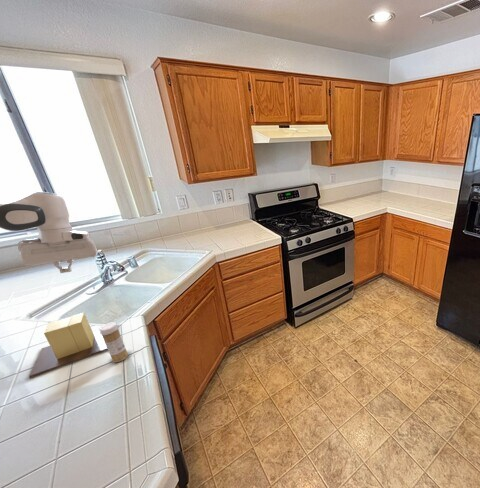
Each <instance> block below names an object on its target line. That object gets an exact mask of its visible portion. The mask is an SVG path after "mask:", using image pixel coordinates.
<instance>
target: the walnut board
mask: <svg viewBox="0 0 480 488" xmlns="http://www.w3.org/2000/svg"><path fill="white" fill-rule="evenodd" d="M92 332H93V334H94V340H93V345H92V347H91V348H88V349H85V350H82V351H80V352H77V353H74V354H71V355H68V356H65V357H62V358H59V359H57V358H56V356H55V354H54V352H53V350H52V348H51V346H50V345H48V346H44V347H42V348H41V349H40V352H39V353H38V356H37V358H36V360H35V362H34V364H33V366H32V369H31V371H30V373H29V375H28V377H29V379H32V378H34V377H36V376H40V375H42V374H46V373H48V372H50V371H53V370H57V369H60V368H61V367H64V366H68V365H70V364H73V363H77V362H78V361H82V360H85V359H88V358H90V357H92V356H96V355H99V354H101V353H104V352H107V351H108V349H107V346H106V344H105V342H104V339H103V336H102V335H101V334H100V331H99V329H97V330H94V331H92Z"/></svg>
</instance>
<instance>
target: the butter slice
mask: <svg viewBox="0 0 480 488" xmlns="http://www.w3.org/2000/svg"><path fill="white" fill-rule="evenodd" d="M71 316H72V317H71ZM71 316H70V317H71V320H70V323H69V325H68V327H69V329H70V331H71V333H72V335H73V337H74V339H75V342H76V344H77V346H78V348H79V350H80V351H82V350H85V349H88V348H91V347H92V345H93V340H94V334H93V332H94V331H93V330H92V327H91V325H90V323H89V320H88V318H87V315H86V313H85V312H84V311H83V312H80V313H77V314H73V315H71Z"/></svg>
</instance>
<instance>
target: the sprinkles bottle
mask: <svg viewBox="0 0 480 488" xmlns="http://www.w3.org/2000/svg"><path fill="white" fill-rule="evenodd" d="M98 330H99V331H100V334H101V335H102V336H103V339H104V342H105V344H106V346H107V349H108V350H107V351H108V354H109V355H110V358H111V362H113V363H120V362H122V361H124V360H126V359H127V358H128V357H129V352H128V351H127V349H126V345H125V342H124V339H123V337H122V335H121V333H120V330H119V327H118V324H117V322H114V321H111V322H107V323H105V324H103V325H101V326H100V327H99V329H98Z"/></svg>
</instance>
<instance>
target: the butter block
mask: <svg viewBox="0 0 480 488" xmlns="http://www.w3.org/2000/svg"><path fill="white" fill-rule="evenodd" d="M72 316H73V315H71V316H67V317H64V318H61V319H58V320H53V321H51V322H48V324H47V326H46V328H45V330H44V332H43V334H44V336H45V338H46V340H47V342H48V344H49V346H51V348H52V350H53V352H54V354H55V356H56V358H57V359H59V358H62V357H65V356H68V355H71V354H74V353H77V352H80V350H79V348H78V346H77V344H76V342H75V339H74V337H73V335H72V333H71V331H70V329H69V327H68V325H69V323H70V320H71V317H72Z"/></svg>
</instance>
